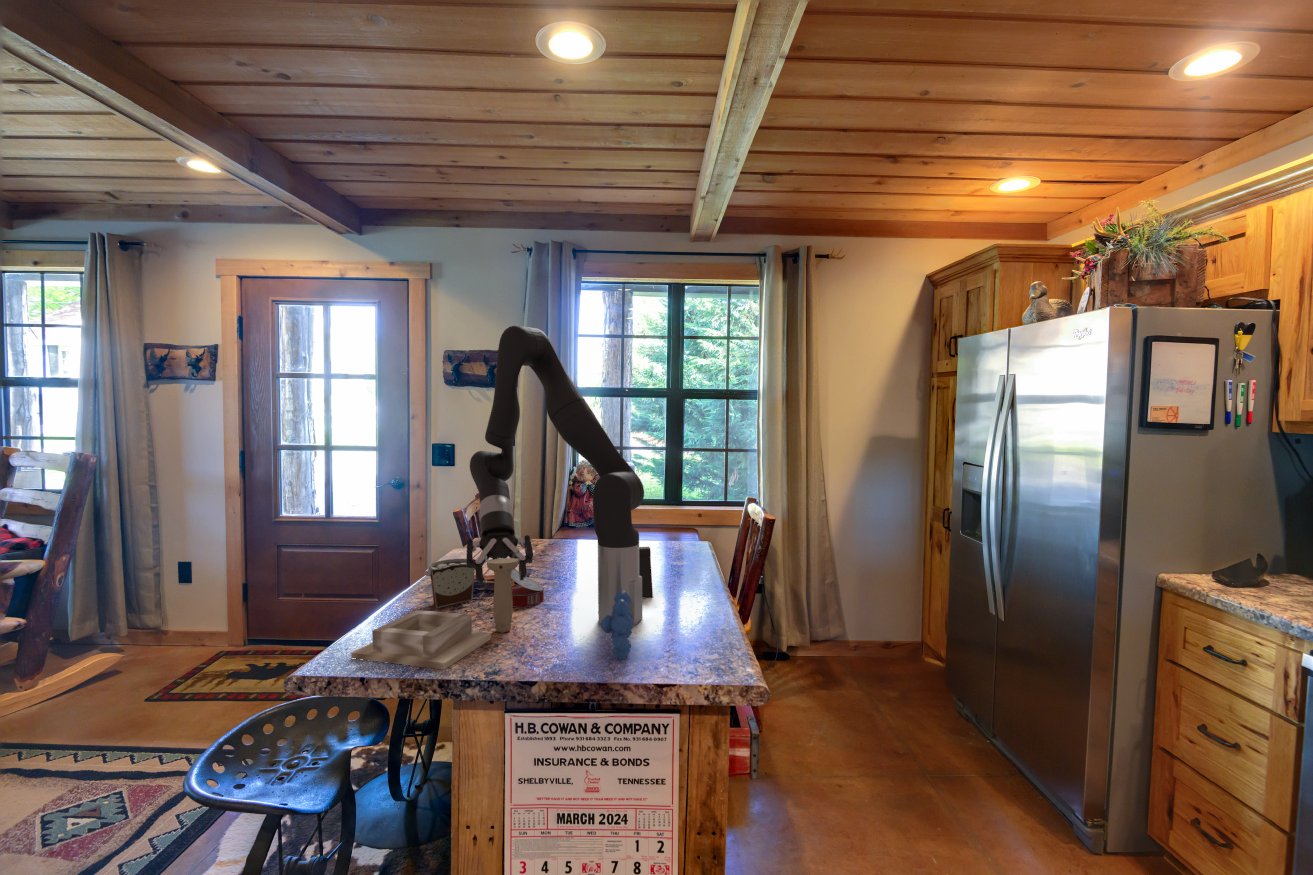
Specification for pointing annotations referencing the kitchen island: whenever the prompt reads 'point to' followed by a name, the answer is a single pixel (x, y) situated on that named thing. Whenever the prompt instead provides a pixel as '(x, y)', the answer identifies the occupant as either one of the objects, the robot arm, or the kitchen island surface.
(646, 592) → the door stopper
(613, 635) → the grapes
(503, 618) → the handle
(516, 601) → the canned food
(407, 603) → the kitchen island surface
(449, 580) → the food container
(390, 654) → the socket stand
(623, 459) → the robot arm
